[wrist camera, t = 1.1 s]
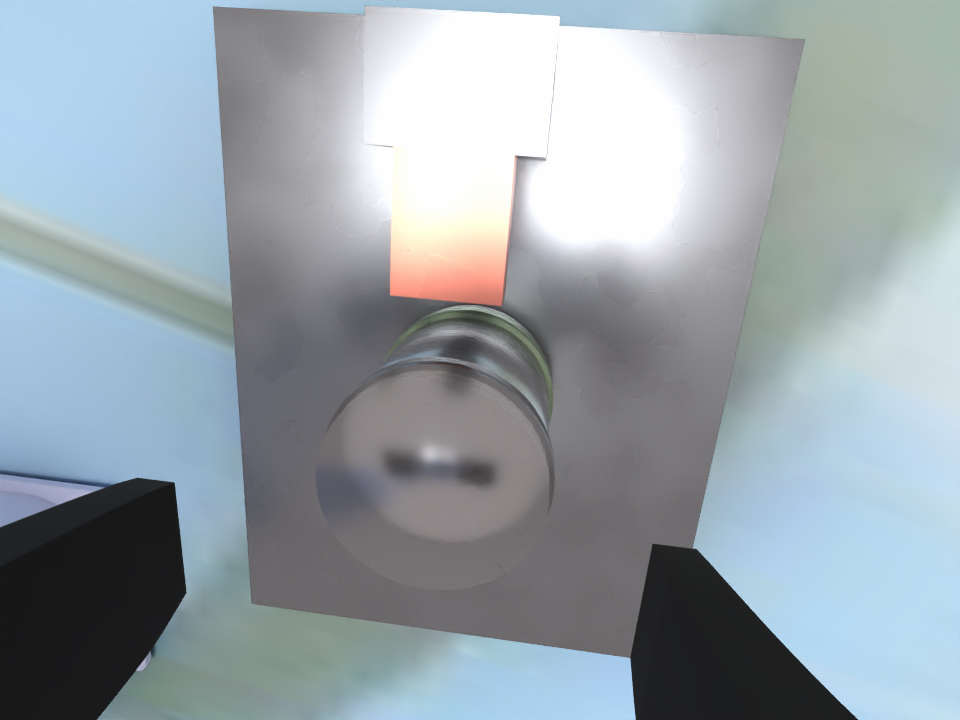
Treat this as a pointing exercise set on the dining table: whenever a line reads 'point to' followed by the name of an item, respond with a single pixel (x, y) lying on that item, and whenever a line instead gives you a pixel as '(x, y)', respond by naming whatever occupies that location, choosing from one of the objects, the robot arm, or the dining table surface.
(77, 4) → the dining table surface
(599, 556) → the stand
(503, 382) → the silver metal canister
